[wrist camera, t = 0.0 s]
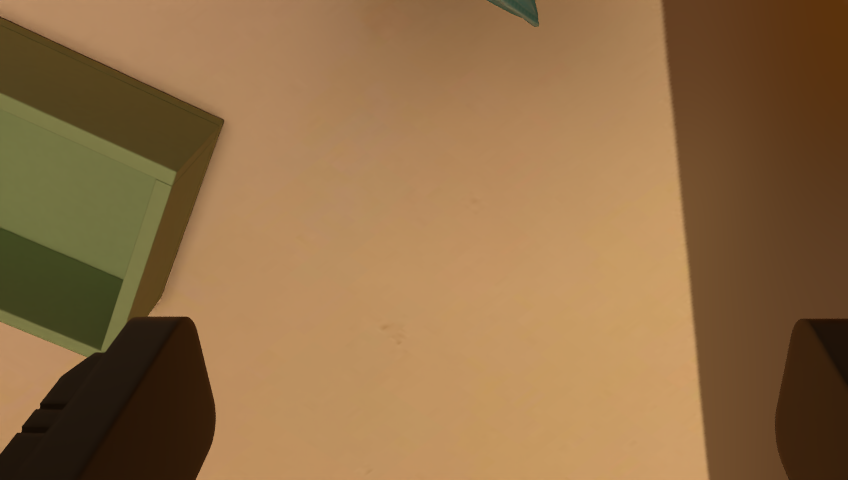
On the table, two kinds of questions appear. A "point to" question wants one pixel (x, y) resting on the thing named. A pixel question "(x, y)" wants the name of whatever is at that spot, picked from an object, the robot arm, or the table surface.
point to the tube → (520, 9)
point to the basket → (89, 191)
